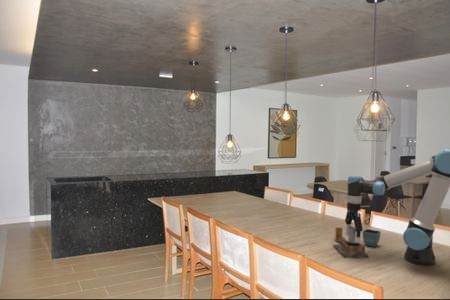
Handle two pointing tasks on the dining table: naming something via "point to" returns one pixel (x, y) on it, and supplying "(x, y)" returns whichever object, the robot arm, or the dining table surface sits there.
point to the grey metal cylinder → (351, 237)
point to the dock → (351, 250)
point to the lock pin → (338, 234)
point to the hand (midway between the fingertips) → (352, 238)
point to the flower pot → (371, 237)
